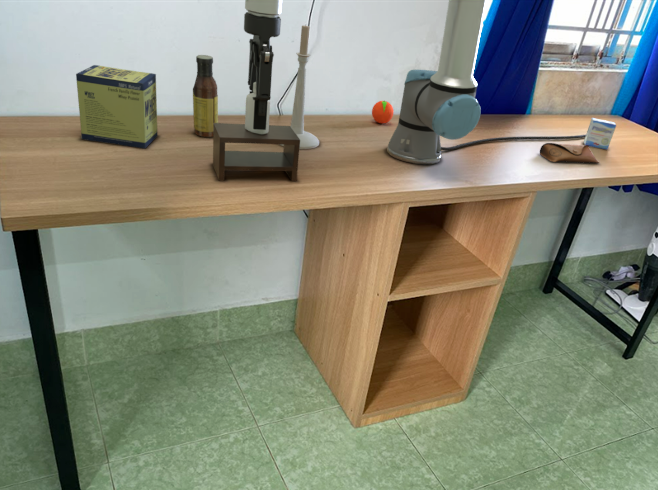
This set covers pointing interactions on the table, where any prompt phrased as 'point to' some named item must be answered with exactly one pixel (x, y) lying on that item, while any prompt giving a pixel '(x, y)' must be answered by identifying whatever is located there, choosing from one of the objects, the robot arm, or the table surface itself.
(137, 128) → the protein box
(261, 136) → the dark brown wooden stand
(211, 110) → the sauce bottle
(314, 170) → the table surface
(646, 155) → the table surface
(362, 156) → the table surface
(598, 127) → the medicine box
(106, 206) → the table surface
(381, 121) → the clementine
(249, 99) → the eye dropper bottle
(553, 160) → the sunglasses case
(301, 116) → the candlestick
